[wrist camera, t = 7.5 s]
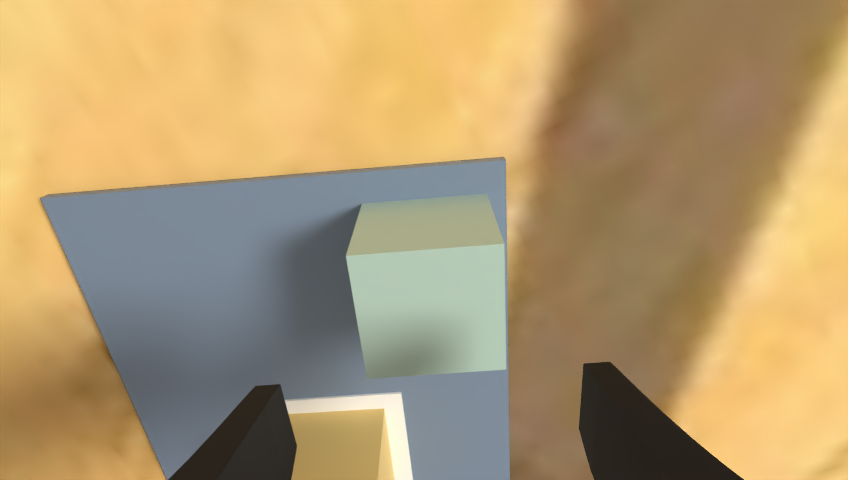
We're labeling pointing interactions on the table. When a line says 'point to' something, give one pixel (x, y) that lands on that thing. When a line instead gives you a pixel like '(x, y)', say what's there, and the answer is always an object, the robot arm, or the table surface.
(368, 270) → the sage block
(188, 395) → the board
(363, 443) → the mustard block
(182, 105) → the table surface
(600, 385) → the robot arm
